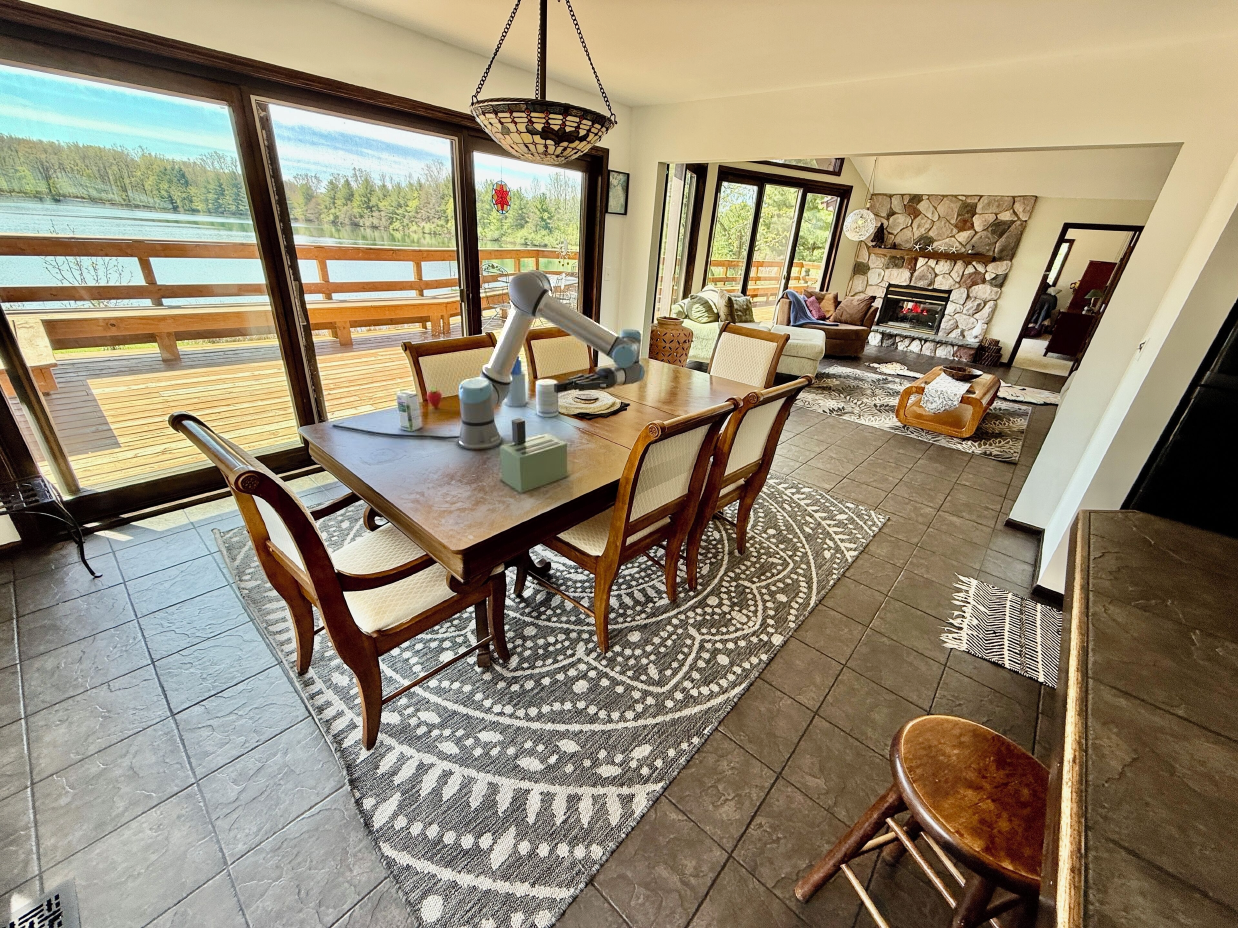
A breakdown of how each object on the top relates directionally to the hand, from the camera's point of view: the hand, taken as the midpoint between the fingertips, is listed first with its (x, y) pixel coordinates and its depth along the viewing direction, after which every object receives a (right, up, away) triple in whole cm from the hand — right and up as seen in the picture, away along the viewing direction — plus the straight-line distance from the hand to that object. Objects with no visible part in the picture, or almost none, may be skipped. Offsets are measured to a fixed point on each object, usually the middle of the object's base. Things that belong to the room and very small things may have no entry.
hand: (555, 388), depth 154 cm
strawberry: (-61, 0, +58) cm, 84 cm away
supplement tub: (-11, -2, +58) cm, 59 cm away
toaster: (-7, -29, +2) cm, 30 cm away
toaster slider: (-11, -18, -3) cm, 21 cm away
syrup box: (-62, -10, +36) cm, 73 cm away
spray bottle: (-27, +4, +69) cm, 75 cm away
